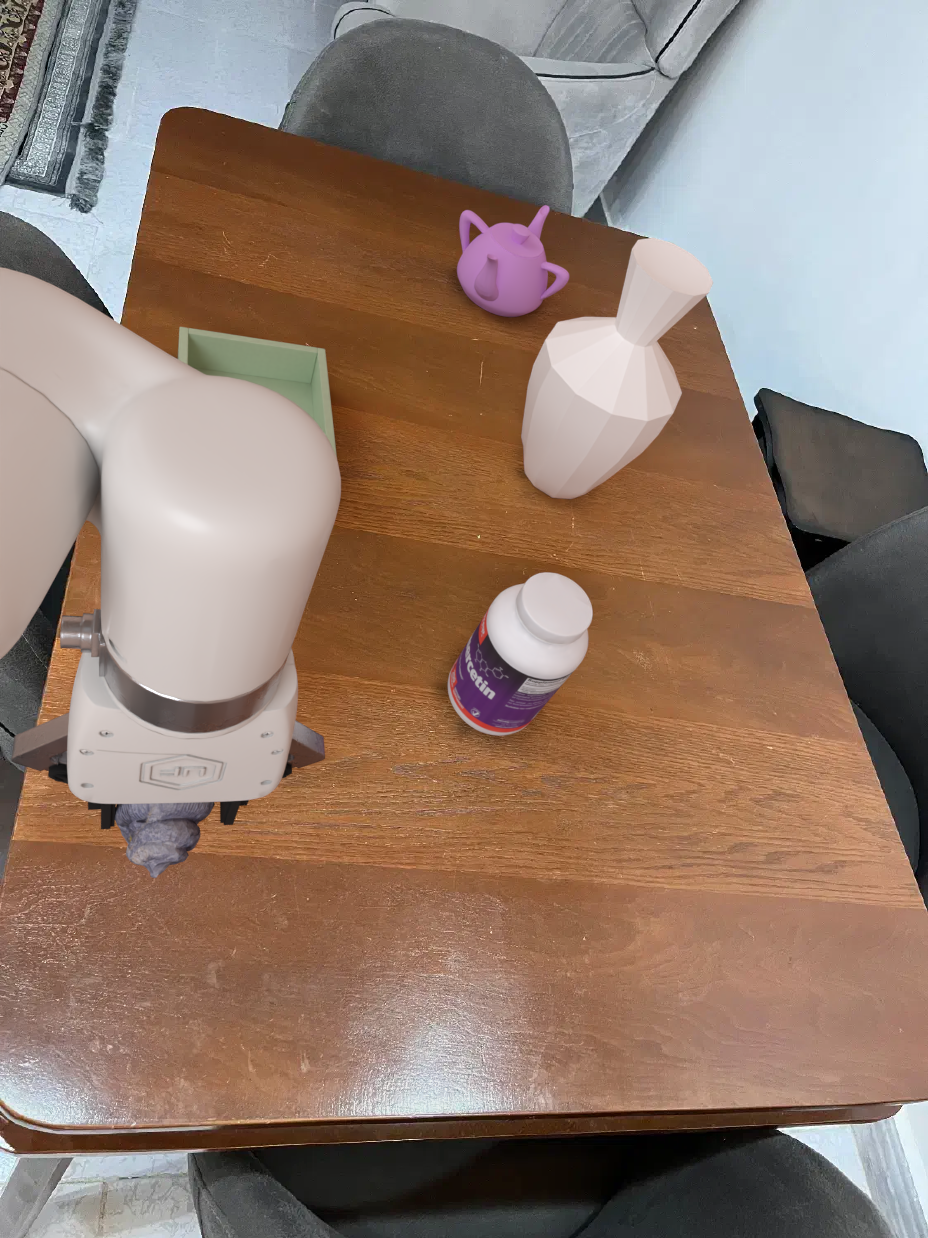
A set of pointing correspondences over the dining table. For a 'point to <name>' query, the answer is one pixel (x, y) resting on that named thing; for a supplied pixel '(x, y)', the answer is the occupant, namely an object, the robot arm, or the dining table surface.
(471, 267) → the teapot
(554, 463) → the vase
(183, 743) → the robot arm
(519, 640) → the pill bottle
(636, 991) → the dining table surface
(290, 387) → the box
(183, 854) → the seashell
